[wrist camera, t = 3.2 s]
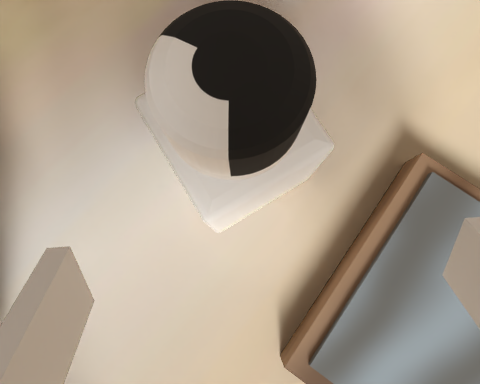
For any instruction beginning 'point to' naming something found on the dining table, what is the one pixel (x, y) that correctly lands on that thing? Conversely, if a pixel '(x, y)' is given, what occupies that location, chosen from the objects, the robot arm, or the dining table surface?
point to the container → (233, 108)
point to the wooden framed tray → (396, 293)
